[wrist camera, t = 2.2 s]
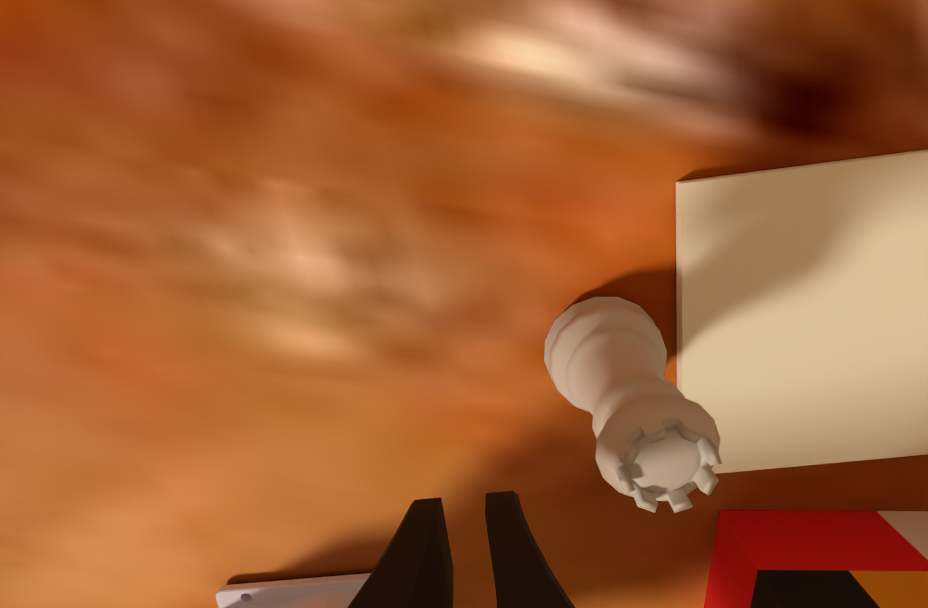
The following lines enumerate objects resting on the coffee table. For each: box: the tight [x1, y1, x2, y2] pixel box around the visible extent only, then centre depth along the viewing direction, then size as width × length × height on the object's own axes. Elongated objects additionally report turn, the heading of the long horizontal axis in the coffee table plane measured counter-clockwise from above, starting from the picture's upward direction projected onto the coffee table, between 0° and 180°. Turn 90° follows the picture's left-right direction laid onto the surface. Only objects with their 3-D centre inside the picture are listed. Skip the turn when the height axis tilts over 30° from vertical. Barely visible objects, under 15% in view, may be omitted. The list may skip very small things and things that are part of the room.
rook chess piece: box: [544, 297, 722, 513], centre depth 17 cm, size 4×4×8 cm
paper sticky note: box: [676, 149, 928, 474], centre depth 20 cm, size 11×12×1 cm
